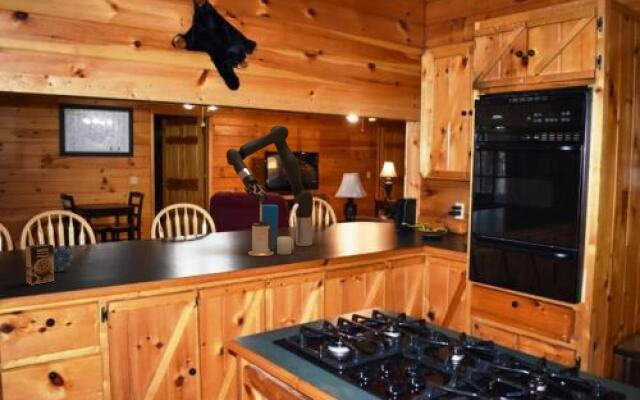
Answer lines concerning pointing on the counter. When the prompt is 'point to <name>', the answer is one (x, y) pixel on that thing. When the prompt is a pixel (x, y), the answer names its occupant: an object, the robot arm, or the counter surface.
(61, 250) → the grapes
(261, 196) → the plunger
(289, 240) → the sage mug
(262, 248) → the beige cylinder with base
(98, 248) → the counter surface
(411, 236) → the counter surface
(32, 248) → the coffee box
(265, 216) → the blue tapered block
